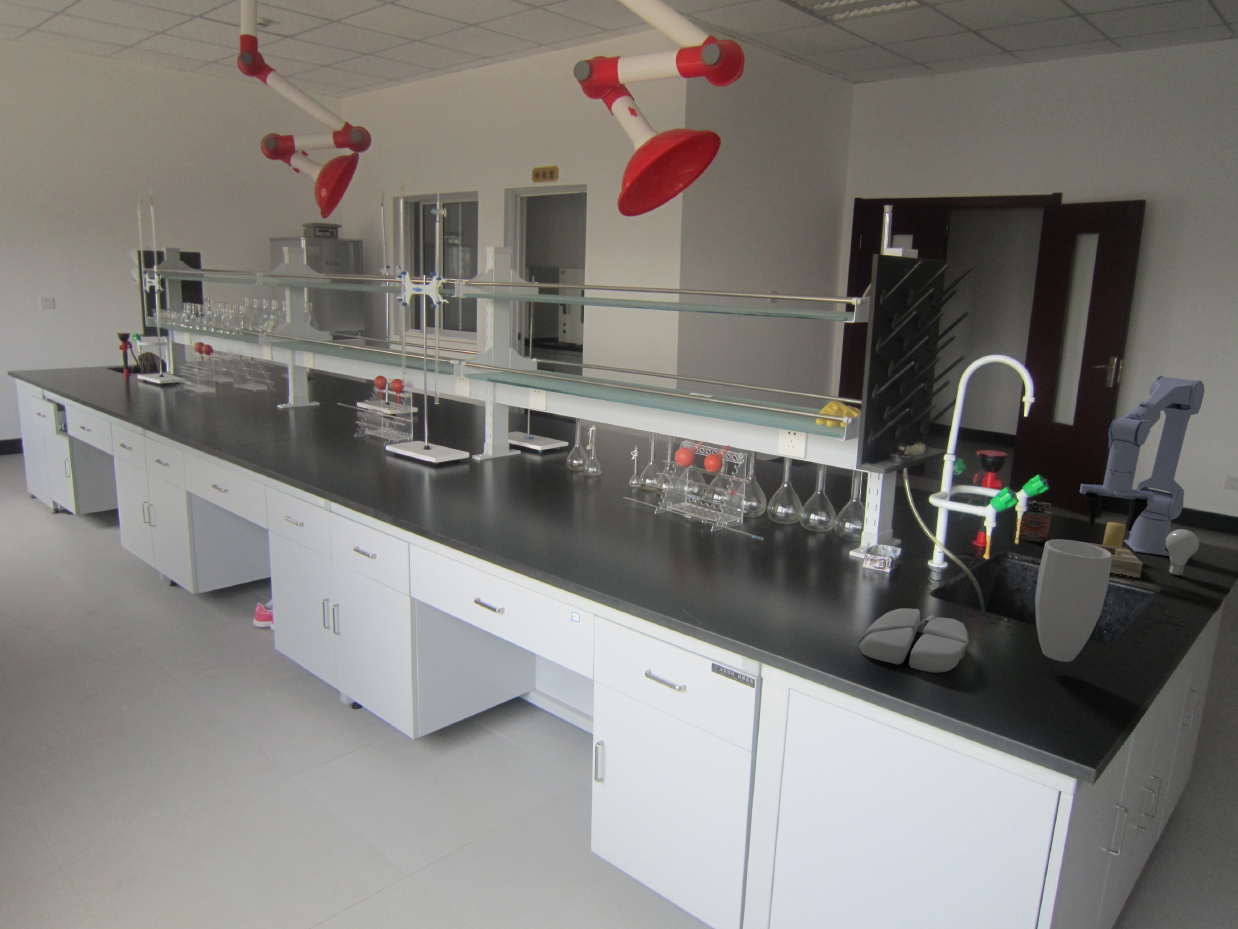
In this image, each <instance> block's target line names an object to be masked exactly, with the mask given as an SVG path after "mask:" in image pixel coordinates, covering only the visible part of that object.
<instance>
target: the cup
mask: <svg viewBox="0 0 1238 929" xmlns="http://www.w3.org/2000/svg"><path fill="white" fill-rule="evenodd" d="M1083 542H1084V541H1079V540H1078V541H1077V540H1072V539H1071V540H1070V539H1050V540H1048V541H1047V542H1044V548H1043V552H1042V557H1041V561H1040V564H1039V569H1038V574H1037V581H1036V588H1035V589H1036V590H1035V597H1034V603H1035V604H1034V605H1035V609H1034V610H1035V625H1036V632H1037V637H1038V642H1039V646H1040V648H1041V652H1042V654H1043V655H1044V656H1046V657H1047V658H1049V659H1051V660H1054V661H1058V662H1065V663H1066V662H1069V663H1070V662H1072V661H1074V660H1075V659H1076V657H1077V656H1078V655H1079V654H1080V653H1081V652H1082V650H1083V649H1084V647H1085V645H1086V643H1087V642H1088V640H1089V639H1090V637H1091V635H1092V633H1093V630H1094V629H1095V627H1096V624H1097V623H1098V620H1099V618H1100V616H1101V614H1102V611H1103V610H1102V609H1103V606H1104V603H1105V599H1106V595H1107V590H1108V588H1109V580H1110V575H1111V574H1110V569H1111V563H1112V554H1111V553H1110V552H1109V551H1107V550H1106V549H1103V548H1101V547H1098V546H1095V545H1091V544H1088V543H1089V542H1085V543H1083Z"/></svg>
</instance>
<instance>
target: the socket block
mask: <svg viewBox="0 0 1238 929" xmlns="http://www.w3.org/2000/svg"><path fill="white" fill-rule="evenodd" d="M1082 542H1083V543H1086V541H1085V542H1084V541H1082ZM1087 543H1088V544H1091V545H1095V546H1098V547H1101V548H1103V549H1106V550H1107V551H1109V552H1110V553H1111V554H1112V563H1111V569H1110V573H1114V574H1113V575H1115V574H1123V575H1127V576H1126V577H1130V576H1132V578H1137V577H1138V578H1139V579H1140V578H1141V574H1142V569H1143V564H1144V563H1143V562H1142V561H1141V560H1140V558H1138V557H1137V556H1136V555H1134V553H1133V552H1132V551H1131V550H1130V549H1129V548H1128V547H1123V546H1122V547H1116V546H1109V545H1103V544H1098V543H1094V542H1093V543H1091V542H1087Z"/></svg>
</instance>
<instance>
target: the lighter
mask: <svg viewBox="0 0 1238 929" xmlns="http://www.w3.org/2000/svg"><path fill="white" fill-rule="evenodd" d="M1028 502H1029V503H1028V509H1029V512H1027V513H1025V514H1024V515H1023V516H1022V521H1021V527H1020V535H1019V539H1018V540H1023V541H1031V542H1038V543H1039V542H1041V543H1046V542H1047V541H1049V530H1050V525H1051V520H1052V517H1053V514H1054V513H1053V512H1051V511H1047V510H1046V509H1048V510H1049V509H1050V510H1051V507H1052V504H1051V503H1050V502H1049V503H1048V502H1038V501H1036V500H1033V501H1028ZM1017 522H1018V518H1017V520H1016V523H1017ZM1016 531H1017V524H1016V526H1015V531H1014V534H1013V538H1014V537H1016Z"/></svg>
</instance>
